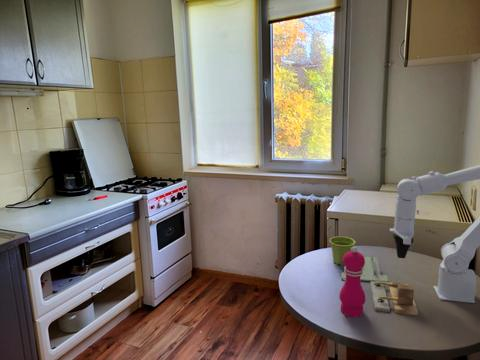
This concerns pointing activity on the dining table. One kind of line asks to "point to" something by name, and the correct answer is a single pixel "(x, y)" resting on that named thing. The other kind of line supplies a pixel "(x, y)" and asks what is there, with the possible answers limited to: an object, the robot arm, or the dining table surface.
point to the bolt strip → (376, 292)
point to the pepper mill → (353, 284)
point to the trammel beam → (397, 307)
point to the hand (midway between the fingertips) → (401, 257)
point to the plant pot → (340, 248)
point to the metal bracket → (370, 271)
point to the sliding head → (402, 295)
